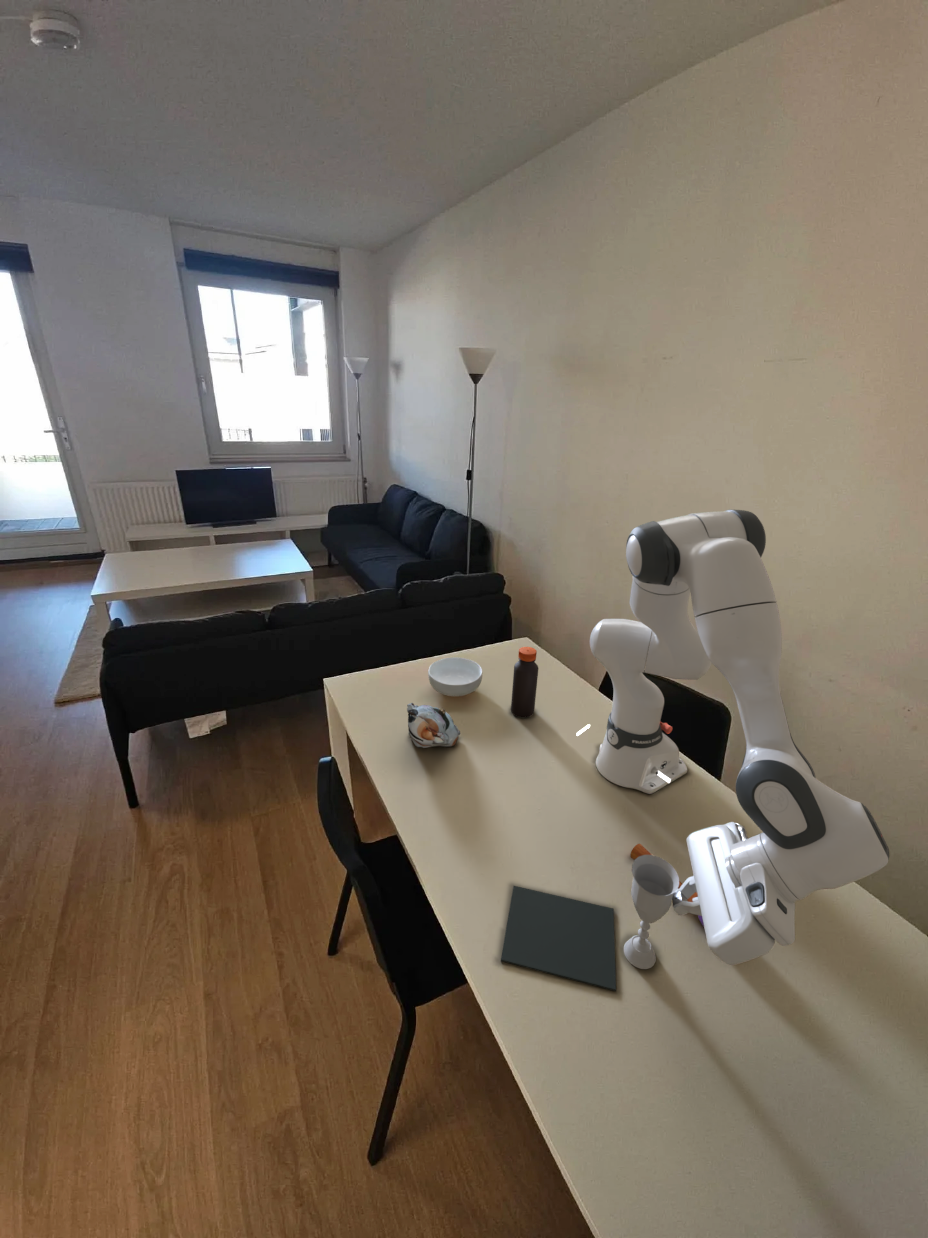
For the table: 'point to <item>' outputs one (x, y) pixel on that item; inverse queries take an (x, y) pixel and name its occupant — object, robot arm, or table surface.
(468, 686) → the cereal bowl
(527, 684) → the bottle
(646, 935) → the chalice
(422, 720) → the lucky cat figurine
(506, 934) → the mat
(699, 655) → the robot arm
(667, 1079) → the table surface
